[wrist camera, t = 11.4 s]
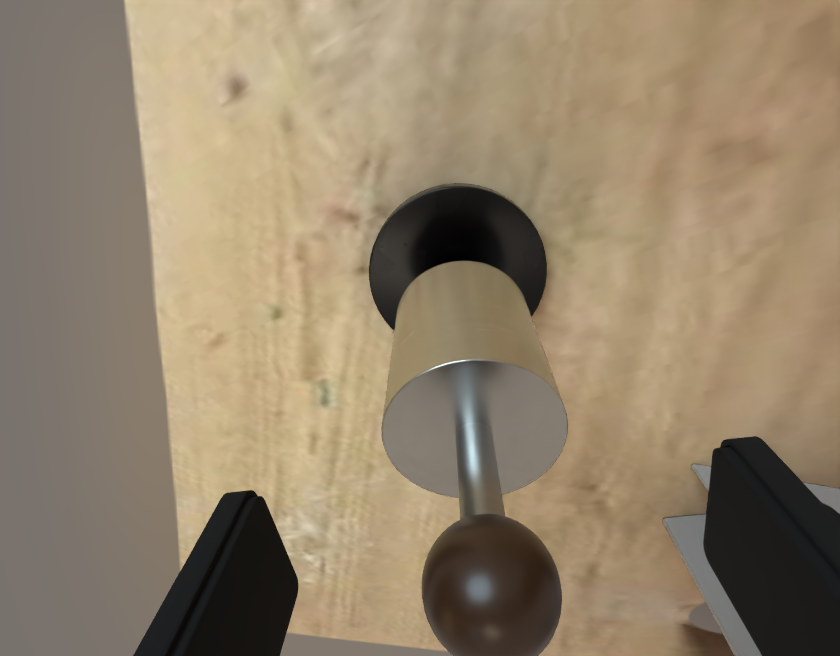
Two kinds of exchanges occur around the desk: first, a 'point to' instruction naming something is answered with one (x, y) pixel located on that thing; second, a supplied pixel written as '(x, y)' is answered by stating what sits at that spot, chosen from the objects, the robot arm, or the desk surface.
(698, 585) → the brochure
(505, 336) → the knobbed metal cylinder
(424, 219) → the holder base
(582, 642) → the desk surface
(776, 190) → the desk surface
